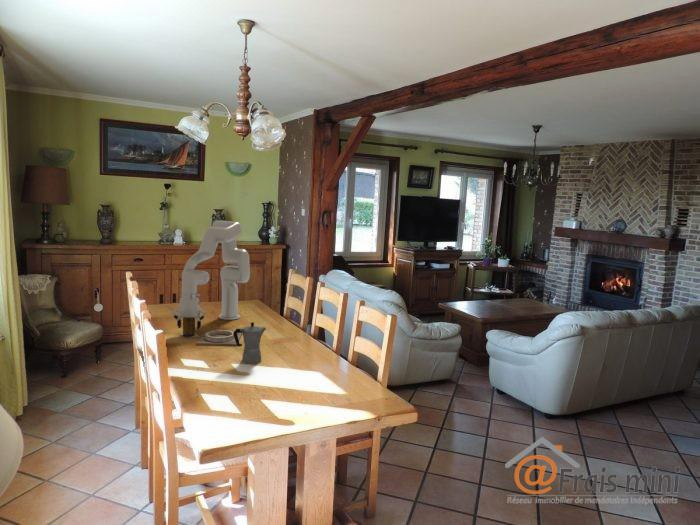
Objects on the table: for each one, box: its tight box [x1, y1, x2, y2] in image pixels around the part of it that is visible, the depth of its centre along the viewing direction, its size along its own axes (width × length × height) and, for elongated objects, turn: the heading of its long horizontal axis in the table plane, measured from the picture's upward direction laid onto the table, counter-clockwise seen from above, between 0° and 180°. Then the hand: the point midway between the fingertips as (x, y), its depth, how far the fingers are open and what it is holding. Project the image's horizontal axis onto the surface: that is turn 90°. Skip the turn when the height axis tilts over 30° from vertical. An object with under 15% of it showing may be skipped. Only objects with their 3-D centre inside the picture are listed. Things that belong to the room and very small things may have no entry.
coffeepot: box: [233, 321, 267, 365], centre depth 225 cm, size 15×9×18 cm, turn 119°
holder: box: [195, 329, 243, 347], centre depth 255 cm, size 20×20×3 cm
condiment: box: [179, 317, 199, 339], centre depth 258 cm, size 7×8×12 cm
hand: (189, 327), depth 258 cm, fingers open, 9 cm apart
